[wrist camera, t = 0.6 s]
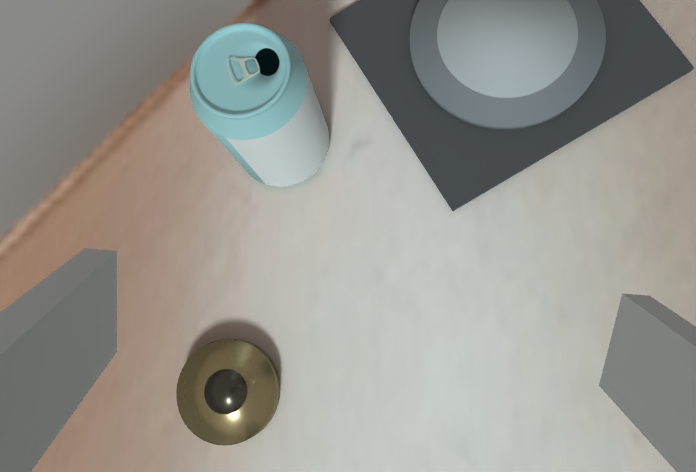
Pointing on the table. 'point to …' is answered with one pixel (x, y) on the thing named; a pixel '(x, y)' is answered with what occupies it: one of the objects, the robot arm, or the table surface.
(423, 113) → the flange station
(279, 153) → the can
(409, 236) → the table surface
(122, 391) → the table surface
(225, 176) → the table surface
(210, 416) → the small brass flange
